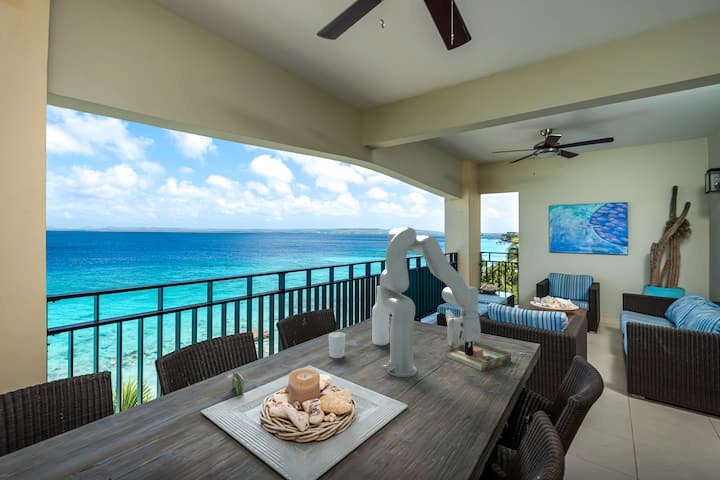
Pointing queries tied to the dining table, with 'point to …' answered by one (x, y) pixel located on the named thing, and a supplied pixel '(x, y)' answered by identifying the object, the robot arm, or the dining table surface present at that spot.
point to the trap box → (486, 362)
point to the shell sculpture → (452, 329)
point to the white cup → (336, 344)
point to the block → (477, 352)
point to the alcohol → (380, 322)
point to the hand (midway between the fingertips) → (469, 355)
